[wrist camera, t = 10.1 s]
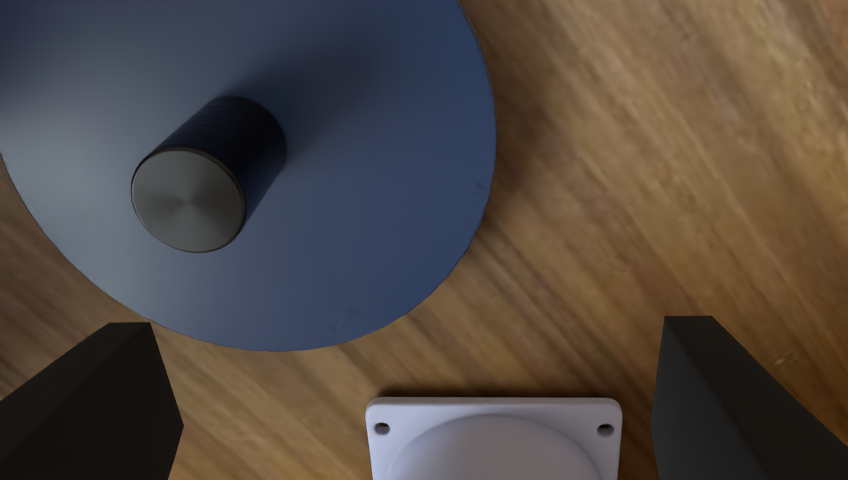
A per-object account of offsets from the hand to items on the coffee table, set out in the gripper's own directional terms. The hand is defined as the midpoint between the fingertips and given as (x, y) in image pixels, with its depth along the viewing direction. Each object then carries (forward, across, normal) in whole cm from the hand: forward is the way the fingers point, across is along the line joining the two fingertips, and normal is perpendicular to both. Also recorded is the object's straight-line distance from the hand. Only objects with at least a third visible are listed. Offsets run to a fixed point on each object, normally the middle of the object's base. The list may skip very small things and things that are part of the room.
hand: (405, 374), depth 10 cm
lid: (+9, +5, 0) cm, 10 cm away
